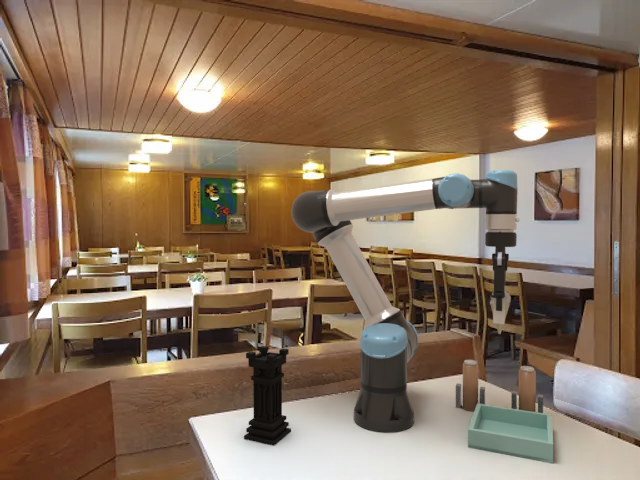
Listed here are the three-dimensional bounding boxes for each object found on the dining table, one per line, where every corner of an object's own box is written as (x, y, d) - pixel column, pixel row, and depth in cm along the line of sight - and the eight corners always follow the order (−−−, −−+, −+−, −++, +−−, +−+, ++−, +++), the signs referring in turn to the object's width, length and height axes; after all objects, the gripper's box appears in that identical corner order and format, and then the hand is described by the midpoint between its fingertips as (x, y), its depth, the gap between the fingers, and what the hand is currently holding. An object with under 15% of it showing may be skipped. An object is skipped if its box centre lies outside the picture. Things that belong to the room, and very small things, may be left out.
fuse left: (461, 409, 126) (461, 362, 126) (463, 404, 130) (463, 358, 129) (477, 412, 125) (477, 364, 124) (478, 407, 128) (479, 360, 128)
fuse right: (518, 418, 120) (518, 368, 120) (518, 413, 124) (519, 364, 124) (535, 421, 119) (535, 370, 118) (535, 415, 122) (535, 366, 122)
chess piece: (291, 431, 113) (290, 348, 112) (274, 445, 106) (273, 357, 105) (262, 425, 116) (262, 345, 116) (244, 439, 109) (243, 353, 108)
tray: (467, 447, 105) (467, 429, 105) (477, 418, 120) (477, 403, 120) (553, 463, 98) (553, 444, 98) (551, 431, 113) (551, 414, 113)
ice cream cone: (513, 336, 120) (514, 277, 119) (493, 336, 120) (494, 278, 119) (505, 331, 125) (505, 275, 124) (486, 331, 125) (486, 275, 124)
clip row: (455, 407, 128) (455, 385, 128) (456, 404, 130) (456, 383, 129) (542, 421, 119) (543, 397, 119) (542, 418, 121) (543, 395, 120)
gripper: (516, 231, 111) (514, 329, 112) (516, 231, 128) (515, 316, 129) (482, 231, 114) (481, 326, 115) (487, 230, 131) (486, 314, 132)
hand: (499, 321), depth 122 cm, fingers closed on ice cream cone, 5 cm apart
